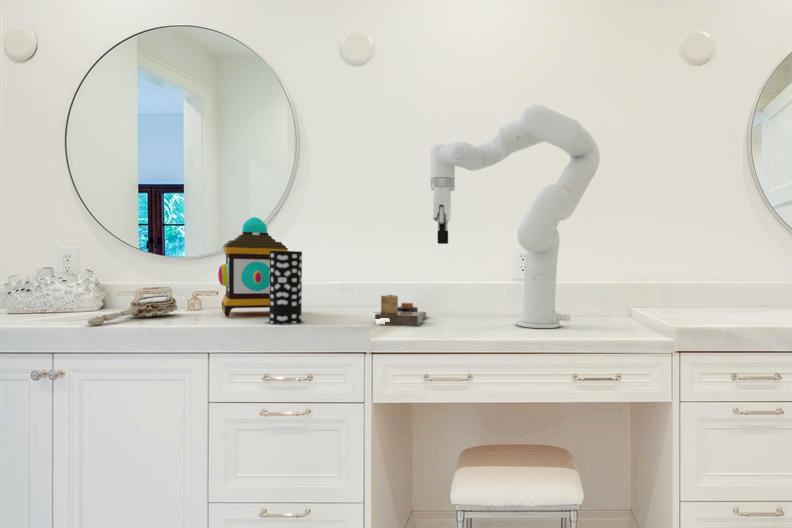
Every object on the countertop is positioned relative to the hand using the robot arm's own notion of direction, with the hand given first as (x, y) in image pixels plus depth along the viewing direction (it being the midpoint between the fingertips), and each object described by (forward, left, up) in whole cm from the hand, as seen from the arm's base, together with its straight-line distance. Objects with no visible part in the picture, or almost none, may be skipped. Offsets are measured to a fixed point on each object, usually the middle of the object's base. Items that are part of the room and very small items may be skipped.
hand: (442, 243), depth 174 cm
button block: (+11, +2, -24) cm, 26 cm away
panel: (+11, +15, -24) cm, 30 cm away
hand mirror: (+82, +23, -24) cm, 88 cm away
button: (+11, +2, -21) cm, 23 cm away
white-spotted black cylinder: (+42, +20, -24) cm, 52 cm away
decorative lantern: (+58, +3, -24) cm, 62 cm away
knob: (+14, +15, -21) cm, 29 cm away
